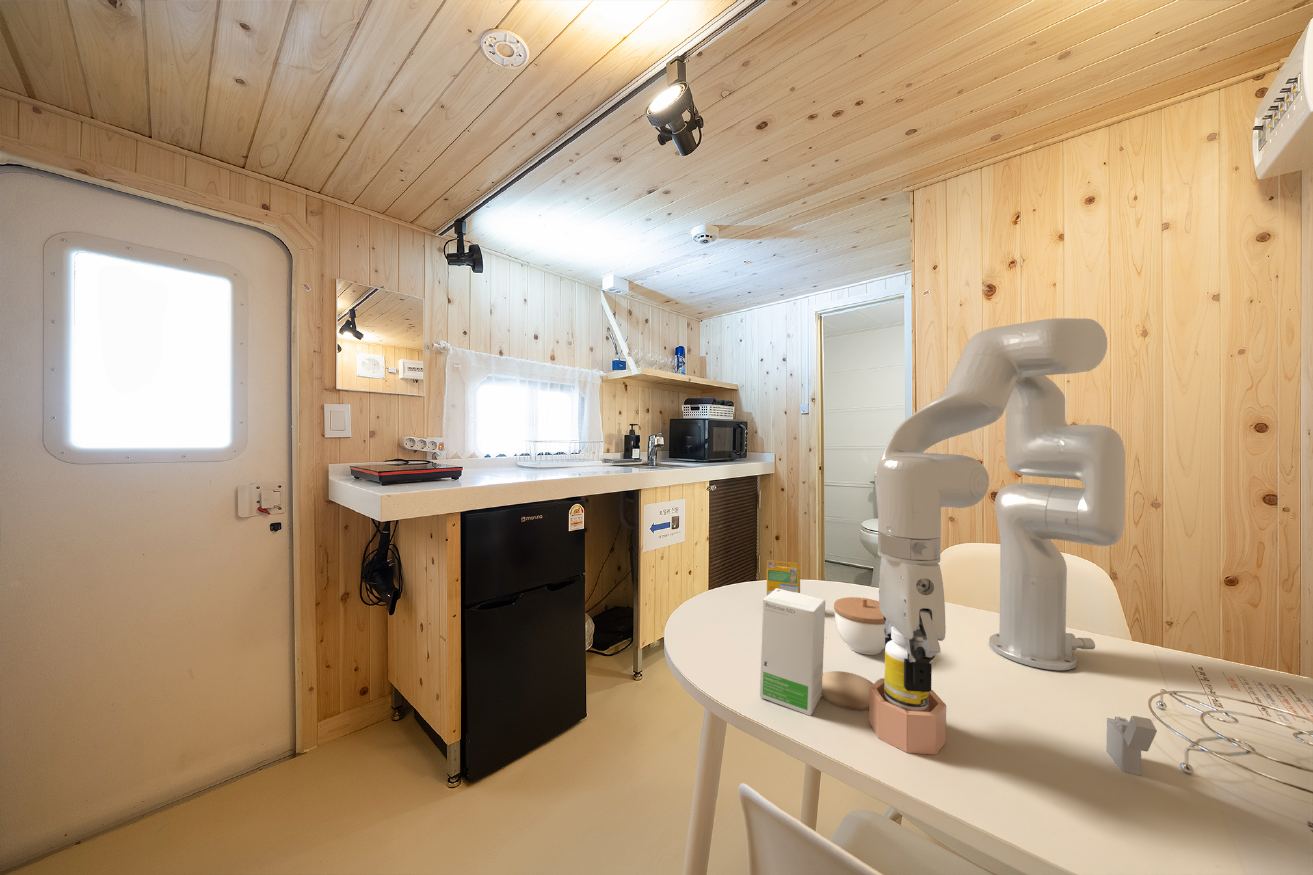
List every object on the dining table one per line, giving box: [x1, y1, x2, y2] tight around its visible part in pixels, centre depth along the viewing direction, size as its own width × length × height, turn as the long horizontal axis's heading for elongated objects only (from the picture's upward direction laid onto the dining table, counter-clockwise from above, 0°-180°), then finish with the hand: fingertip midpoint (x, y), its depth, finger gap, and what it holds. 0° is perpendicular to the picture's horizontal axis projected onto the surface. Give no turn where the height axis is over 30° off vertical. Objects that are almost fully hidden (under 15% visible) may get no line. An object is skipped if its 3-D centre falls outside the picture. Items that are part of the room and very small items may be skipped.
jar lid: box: [821, 670, 874, 711], centre depth 73 cm, size 9×9×1 cm
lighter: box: [1105, 715, 1158, 777], centre depth 56 cm, size 7×2×8 cm, turn 156°
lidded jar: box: [833, 596, 888, 656], centre depth 88 cm, size 11×11×9 cm
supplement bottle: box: [884, 626, 929, 711], centre depth 63 cm, size 5×5×10 cm
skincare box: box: [759, 588, 826, 716], centre depth 71 cm, size 8×7×16 cm
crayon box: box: [766, 559, 801, 596], centre depth 106 cm, size 7×3×12 cm, turn 69°
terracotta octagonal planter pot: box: [868, 677, 947, 756], centre depth 63 cm, size 9×9×5 cm
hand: (906, 676), depth 63 cm, fingers closed on supplement bottle, 5 cm apart
